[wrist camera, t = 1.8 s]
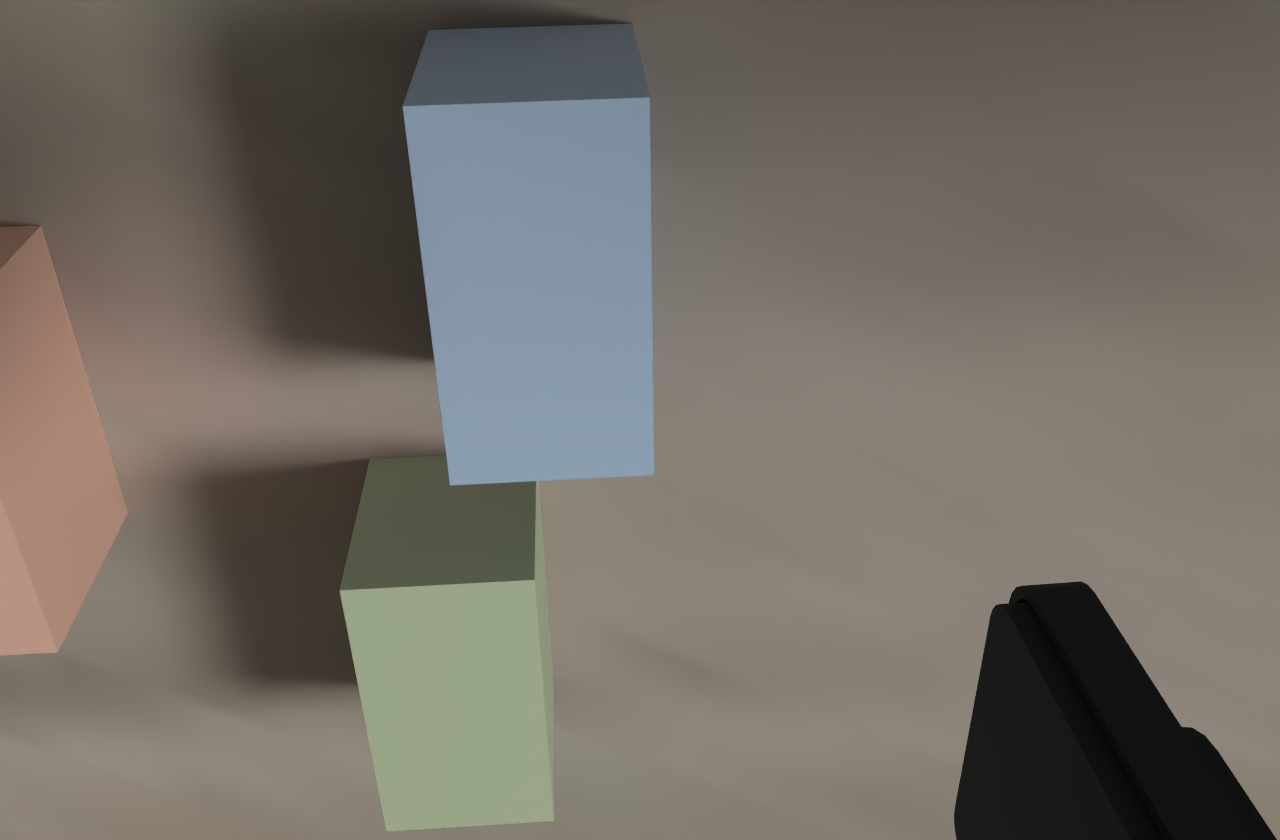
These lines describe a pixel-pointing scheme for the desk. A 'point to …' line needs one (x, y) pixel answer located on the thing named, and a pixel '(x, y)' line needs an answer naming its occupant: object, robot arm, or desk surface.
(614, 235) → the blue brick
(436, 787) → the olive brick
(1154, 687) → the robot arm
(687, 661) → the desk surface
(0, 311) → the terracotta brick
